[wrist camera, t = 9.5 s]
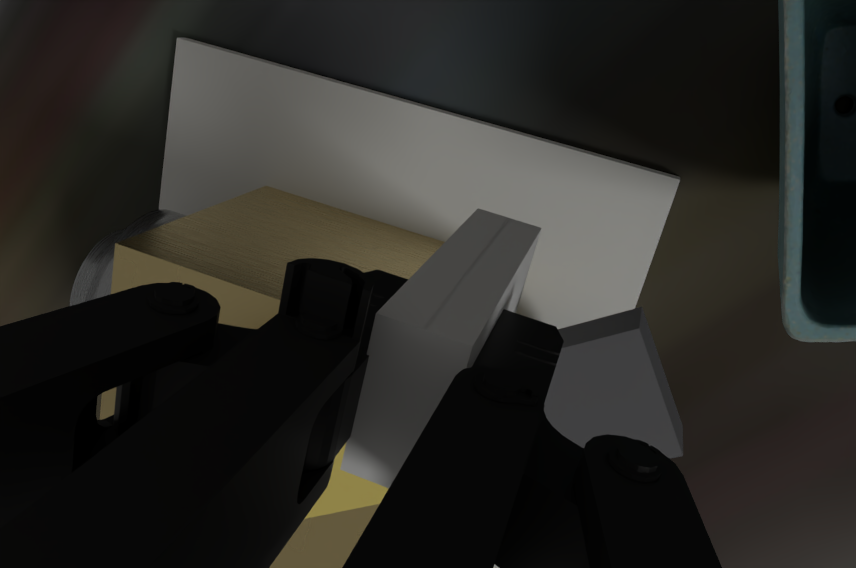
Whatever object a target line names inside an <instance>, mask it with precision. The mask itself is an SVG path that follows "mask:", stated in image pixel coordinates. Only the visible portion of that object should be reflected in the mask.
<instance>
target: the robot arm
mask: <svg viewBox="0 0 856 568" xmlns="http://www.w3.org/2000/svg"><path fill="white" fill-rule="evenodd" d="M541 229H542V228H540V227H537V226H534V225H530V224H527V223H524V222H521V221H518V220H514V219H511V218H508V217H505V216H502V215H498V214H495V213H492V212H489V211H486V210H482V209H479V208H478V209H477V210H476V211H475V212H474V213H473V214H472V215H471V216H470V217H469V218H468V219H467V220H466V221H465V222H464V223H463V224H462V225H461V226H460V227H459V228H458V229H457V230H456V231H455V232H454V233H453V234H452V235H451V236H450V237H449V238H448V240H447V241H446V242H445V243H444V244H443V245H442V246H441V247H440V248H439V249H438V250H437V251H436V252H435V253H434V254H433V255H432V256H431V257H430V258H429V259H428V260H427V261H426V262H425V263H424V264H423V265H422V266H421V267H420V268H419V269H418V270H417V271H416V272H415V273H414V274H413V276H412V277H411V278H410V279H409V280H408V279H405V278H402V277H399V276H396V275H393V274H390V273H387V272H384V271H381V270H378V269H377V270H373V271H369V272H365V273H363V272H362V271H361V270H359V269H357V268H354V267H352V266H350V265H347V264H345V263H341V262H337V261H333V260H328V259H318V258H305V259H296V260H294V261H291V262H288V263H287V266H286V271H285V277H284V283H283V288H282V294H281V300H280V305H279V311H278V314H277V315H275V316H274V317H273V318H271V319H270V320H269V321H267V322H266V323H265V324H264V325H262V326H261V327H260V328H258V329H250V328H243V327H237V326H232V325H226V324H220V323H218V322H219V315H220V308H221V307H220V305H219V303H218V300H217V299H216V298H215V297H213V296H212V295H211V294H209V293H208V292H206V291H204V290H201V289H198V288H196V287H194V286H193V285H189V284H184V285H183V284H182V283H180V282H170V283H152V284H146V285H141V286H137V287H134V288H130V289H127V290H124V291H120V292H117V293H113V294H110V295H106V296H103V297H100V298H96V299H93V300H89V301H86V302H82V303H79V304H76V305H72V306H69V307H65V308H62V309H58V310H55V311H52V312H48V313H45V314H41V315H38V316H34V317H31V318H27V319H24V320H21V321H17V322H14V323H10V324H7V325H3V326H0V568H269V567H270V566H271V565H272V563H273V562H274V560H275V559H276V558H277V556H278V555H279V553H280V552H281V551H282V549H283V548H284V546H285V545H286V544H287V542H288V541H289V539H290V538H291V537H292V535H293V534H294V532H295V531H296V530H297V528H298V527H299V526H300V524H301V523H302V521H303V520H304V519H305V517H306V516H307V514H308V513H309V512H310V510H311V509H312V507H313V506H314V505H315V503H316V502H317V500H318V499H319V498H320V496H321V495H322V493H323V492H324V491H325V489H326V488H327V486H328V483H329V480H330V477H331V473H332V468H333V464H334V459H335V457H336V455H337V454H338V453H339V451H340V450H341V449H342V447H343V446H344V445H345V443H346V446H345V451H344V455H343V459H342V464H341V468H340V470H343V471H345V472H348V473H350V474H353V475H356V476H358V477H361V478H363V479H366V480H369V481H371V482H374V483H376V484H379V485H381V486H384V487H386V488H389V489H388V491H387V492H386V494H385V496H384V498H383V499H382V501H381V503H380V504H379V506H378V508H377V509H376V511H375V513H374V515H373V516H372V518H371V520H370V521H369V523H368V525H367V526H366V528H365V530H364V532H363V533H362V535H361V537H360V538H359V540H358V542H357V543H356V545H355V547H354V548H353V550H352V552H351V554H350V555H349V557H348V559H347V560H346V562H345V564H344V565H343V567H342V568H493V567H494V564H495V565H496V566H498V567H499V568H722V567H721V564H720V562H719V560H718V557H717V555H716V553H715V550H714V548H713V545H712V543H711V541H710V538H709V536H708V533H707V531H706V529H705V526H704V524H703V521H702V519H701V517H700V514H699V512H698V509H697V507H696V505H695V502H694V500H693V497H692V495H691V493H690V490H689V488H688V486H687V483H686V481H685V478H684V476H683V474H682V473H681V472H680V470H679V469H678V467H677V466H676V464H675V463H674V462H673V461H671V460H670V459H669V458H668V457H666V456H665V455H664V454H663V453H662V452H661V451H660V450H658V449H657V448H655V447H653V446H652V445H651V446H649V444H648V443H645V442H643V441H641V440H635V439H632V438H628V437H625V436H618V435H610V434H606V435H601V436H595V437H593V438H592V439H590V440H589V441H588V442H587V443H586V444H585V447H584V448H582V447H581V446H579V445H577V444H575V443H574V442H572V441H571V440H569V439H568V438H566V437H565V436H563V435H562V434H561V433H560V432H558V431H557V430H556V429H555V428H554V427H553V426H552V425H551V423H550V422H549V421H548V419H547V418H546V415H545V412H544V407H545V406H544V403H545V399H546V396H547V393H548V390H549V387H550V384H551V380H552V377H553V374H554V371H555V368H556V365H557V362H558V358H559V355H560V352H561V349H562V346H563V343H564V340H563V338H562V337H561V335H560V333H559V331H558V329H557V327H556V326H553V325H550V324H547V323H544V322H541V321H538V320H535V319H532V318H529V317H526V316H523V315H520V314H517V313H516V311H517V308H518V304H519V301H520V298H521V295H522V291H523V288H524V285H525V281H526V278H527V275H528V271H529V268H530V265H531V262H532V258H533V255H534V252H535V248H536V245H537V242H538V239H539V235H540V232H541ZM115 387H116V398H115V409H114V415H112V416H110V417H107V418H105V419H102V420H97V418H96V405H97V396H98V395H100V394H101V393H103V392H106V391H108V390H110V389H113V388H115Z"/></svg>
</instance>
